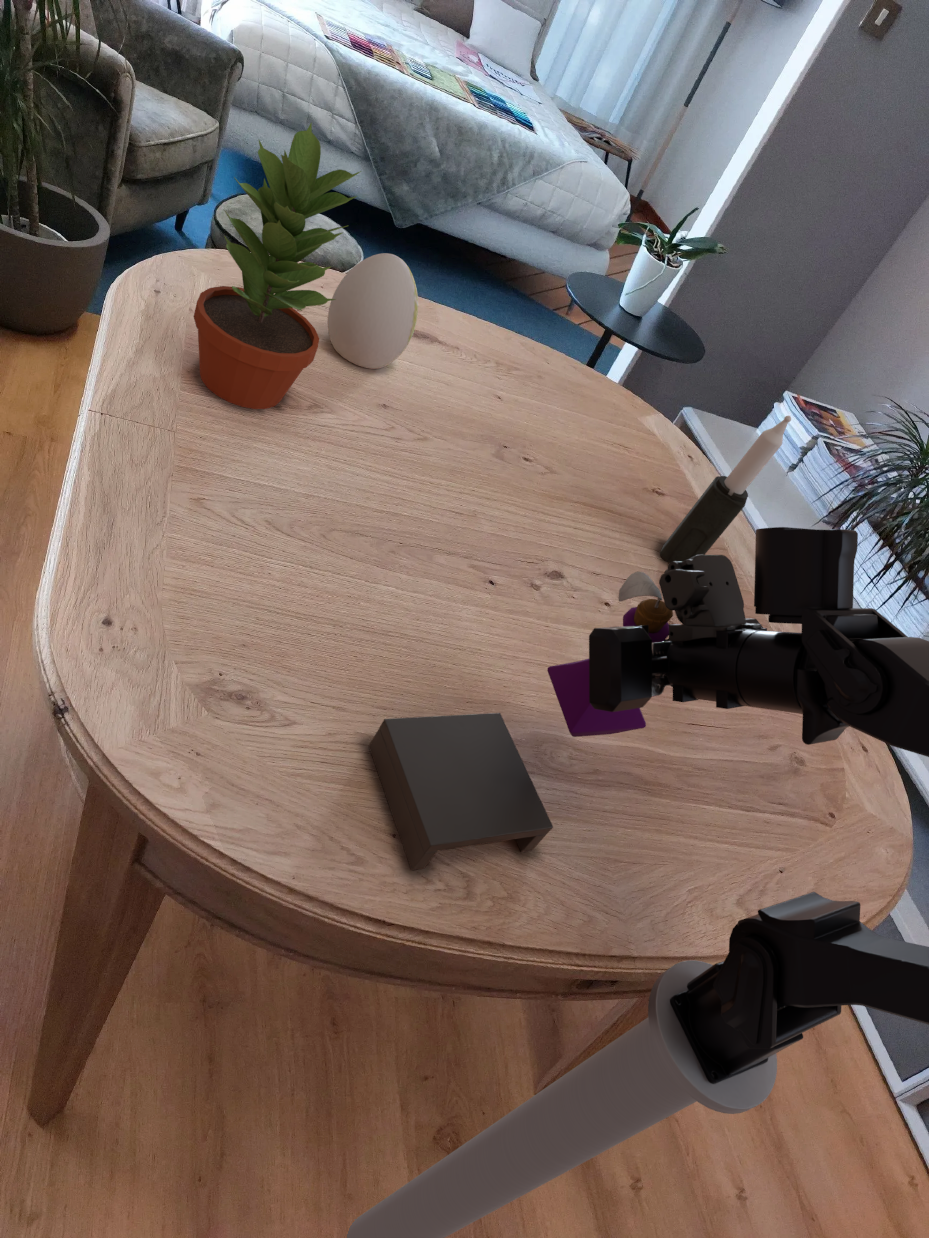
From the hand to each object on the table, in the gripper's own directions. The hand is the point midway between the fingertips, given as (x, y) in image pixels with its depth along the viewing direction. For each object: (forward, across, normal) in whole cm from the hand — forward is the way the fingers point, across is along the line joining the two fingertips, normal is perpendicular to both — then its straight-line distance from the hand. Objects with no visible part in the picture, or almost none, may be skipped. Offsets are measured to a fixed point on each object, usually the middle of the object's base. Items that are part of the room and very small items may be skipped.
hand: (606, 653), depth 75 cm
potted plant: (+49, +14, -31) cm, 59 cm away
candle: (+27, -42, -9) cm, 51 cm away
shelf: (+7, +13, +12) cm, 19 cm away
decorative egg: (+58, -8, -40) cm, 70 cm away
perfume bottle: (+4, -2, +7) cm, 8 cm away
